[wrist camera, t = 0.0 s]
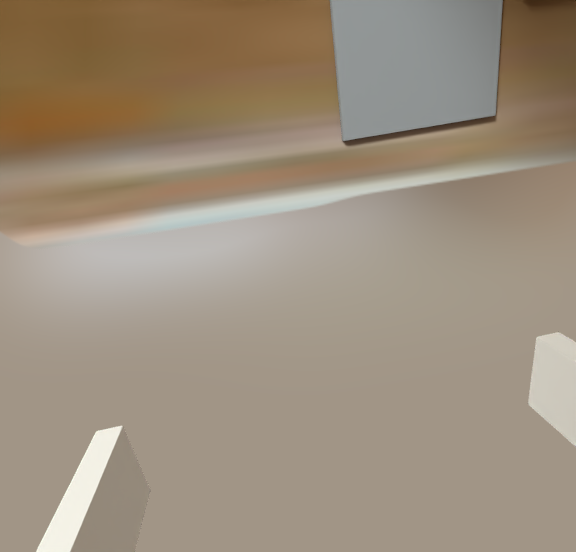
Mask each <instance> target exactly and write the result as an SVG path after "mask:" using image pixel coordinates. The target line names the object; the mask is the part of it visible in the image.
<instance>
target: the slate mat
mask: <svg viewBox="0 0 576 552" xmlns="http://www.w3.org/2000/svg"><path fill="white" fill-rule="evenodd" d="M502 3H503V0H330V8H331V19H332V31H333V42H334V53H335V64H336V76H337V87H338V98H339V109H340V121H341V132H342V141H346V140H352V139H358V138H364V137H370V136H376V135H382V134H388V133H394V132H400V131H406V130H412V129H418V128H424V127H430V126H436V125H442V124H447V123H453V122H459V121H465V120H471V119H477V118H483V117H489V116H495V115H496V100H497V84H498V68H499V52H500V35H501V19H502Z"/></svg>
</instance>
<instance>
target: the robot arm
mask: <svg viewBox="0 0 576 552" xmlns="http://www.w3.org/2000/svg"><path fill="white" fill-rule="evenodd" d="M528 405H529V406H531V407H532V408H533V409H534V410H535V411H536V412H537V413H538V414H540V415H541V416H542V417H543V418H544V419H545V420H546V421H547V422H548V423H550V424H551V425H552V426H553V427H554V428H555V429H556V430H557V431H558V432H560V433H561V434H562V435H563V436H564V437H565V438H566V439H567V440H569V441H570V442H571V443H572V444H573V445H574V446H575V447H576V342H575V341H573V340H572V339H570V338H568V337H566V336H564V335H563V334H561V333H560V332H557V333H552V334H548V335H543V336H539V337H537V338H536V346H535V354H534V361H533V369H532V378H531V384H530V392H529V400H528ZM149 494H150V488H149V485H148V483H147V481H146V479H145V476H144V474H143V472H142V469H141V467H140V464H139V462H138V460H137V457H136V455H135V453H134V450H133V448H132V446H131V443H130V441H129V439H128V436H127V434H126V432H125V429H124V427H123V426H119V427H114V428H109V429H105V430H100V431H96V433H95V435H94V437H93V439H92V441H91V443H90V445H89V447H88V449H87V451H86V453H85V455H84V457H83V459H82V461H81V463H80V465H79V467H78V469H77V471H76V473H75V475H74V477H73V479H72V481H71V483H70V485H69V487H68V489H67V491H66V493H65V495H64V497H63V499H62V501H61V503H60V505H59V507H58V509H57V511H56V513H55V515H54V517H53V519H52V521H51V523H50V525H49V527H48V529H47V531H46V533H45V535H44V537H43V539H42V541H41V543H40V545H39V547H38V549H37V551H36V552H135V548H136V544H137V540H138V536H139V533H140V529H141V525H142V521H143V517H144V513H145V509H146V505H147V502H148V498H149Z"/></svg>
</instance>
